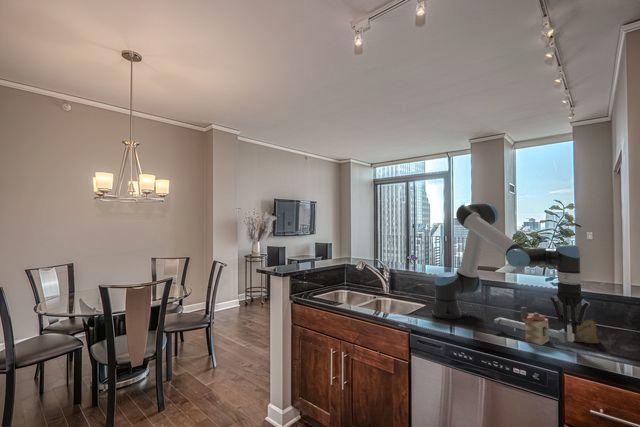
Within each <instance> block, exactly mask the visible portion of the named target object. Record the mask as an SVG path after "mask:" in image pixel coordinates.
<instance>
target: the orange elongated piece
mask: <svg viewBox="0 0 640 427" xmlns="http://www.w3.org/2000/svg"><path fill="white" fill-rule="evenodd" d="M520 318H521V321H522V322H525V321H530V320H540V321H542V320H545V319H546V316H545V315H543V314H540V313H538V312H533V313H528V307H526V306H521V307H520Z"/></svg>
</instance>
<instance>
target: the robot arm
mask: <svg viewBox="0 0 640 427" xmlns="http://www.w3.org/2000/svg"><path fill="white" fill-rule="evenodd" d="M455 215H456V216H455V217H456V221H457V222H458V223H459V224H460V225H461V226H462V227H464V228H465V229H466V230H468V232H467V236H466V242H465V246H464V248H463V249H464V250H463V255H462V259H461V262H460V263H461V264H460V267H457V269H456V272H451V271H449V272H448V271H446V272H440V273H439V272H438V273H437V274H436V275H435V277H434V303H433V307H432V310H431V311H432V312H431V313H432V315H433V317H437V318H441V319H446V320H447V319H448V320H455V319H460V318H462V311H461V308H460V306H459V303H458V296H465V295H473V294H476V293H479V291H480V289H481V287H482V281H481V277H480V274H479V272H478V266H479V263H480V260H481V259H480V258H481V255H482V250H483V247H484V243H485V242H486V243H488V244H489V245H491V247H493V248H494V249H496V250H497V251H498V252H500V253H501V254H502V255H504V256H505V258H506V262H507V264H509V265H510V266H512V267H514V268H525V267H526V268H527V267H538V266H539V267H540V266H541V267H542V266H547V267H556V269H557V271H556V275H557V281H558V282H557V293H556V295H555V296H551V297H550V300H551V302H552V304H553V307H554V310H555V313H556V317H557V320H558V321H559V322H560V323H562V324H563V325H564V326H563V327H564V328H563V329H564V331H565V332H567V338H568V341H567V342H570V343H573V342H575V341H574V334H576V333H577V326H578V325H579V326H580V325H582V324H583V321H585V317H586V313H587V310H588V308H589V306H590V305H591V302H589V301H587V300H585V299H584V297H583V295H582V284H580V283H581V282H582V276H581V275H582V274H581V253H580V247H579V246H578V245H576V244H557V245H556V248H548V247H547V248H546V247H540V246H539V247H537V246H536V247H530V248H526V247H523V246H522V245H520V244H519V242H516V241H515V240H513V239H512V238H510V237H509V236H508V235H506V234H505V233H504V232H502V231H500V229H498V228H496V227H495V226H494V224H495V223H497V221H498V217H499V213H498V210H497V208H496V207H495V206H494V204H491V203H485V202H478V203H477V202H475V203H474V202H466V203H463V204H461V205H460V206H459V207H458V208H457V210H456V213H455ZM559 301H560V302H559ZM560 303H561V304H562V308H561V304H560ZM580 303H581V308H580V311H579V315H578V312H577V311H578V310H577V308H578V305H579V304H580ZM562 309H563V310H562ZM570 320H571V321H570Z"/></svg>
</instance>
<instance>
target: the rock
mask: <svg viewBox="0 0 640 427" xmlns="http://www.w3.org/2000/svg"><path fill="white" fill-rule="evenodd" d="M598 332H599V331H597V326H596V322H595V320H591V319H586V320H585V319H584V321H583V324H582V325H580V326H579V325H578V326H577V333H576V334H574V341H573V342H579V343H587V344H588V343H589V344H599V343H600V337H599V333H598Z"/></svg>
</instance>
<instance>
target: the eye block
mask: <svg viewBox="0 0 640 427" xmlns="http://www.w3.org/2000/svg"><path fill="white" fill-rule="evenodd" d="M524 323H525V330H524V331H525V332H524V333H525V342H529V343H532V344H536V345H540V346H542V345H544V344H546V343H548V342H550V336H547V335H543V327H544V328H548V329H550V328H549V318H545V320H542V321H540V320H530V321H524Z"/></svg>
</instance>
